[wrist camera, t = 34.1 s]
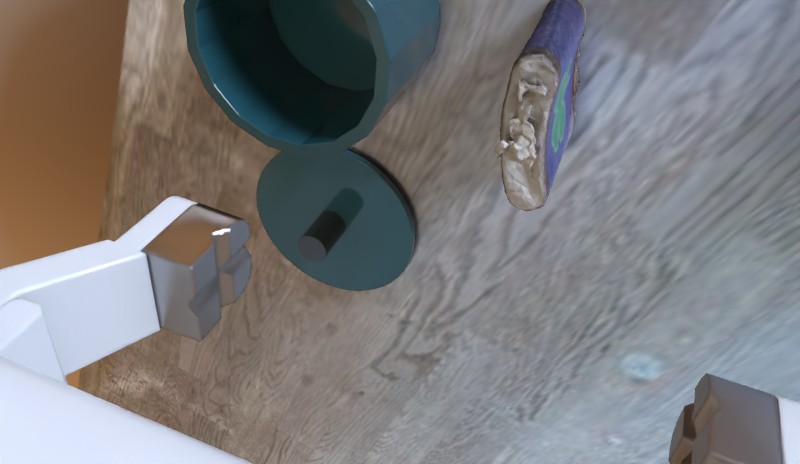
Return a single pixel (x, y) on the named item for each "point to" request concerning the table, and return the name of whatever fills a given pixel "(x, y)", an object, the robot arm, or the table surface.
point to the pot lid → (336, 219)
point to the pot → (310, 64)
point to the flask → (541, 105)
